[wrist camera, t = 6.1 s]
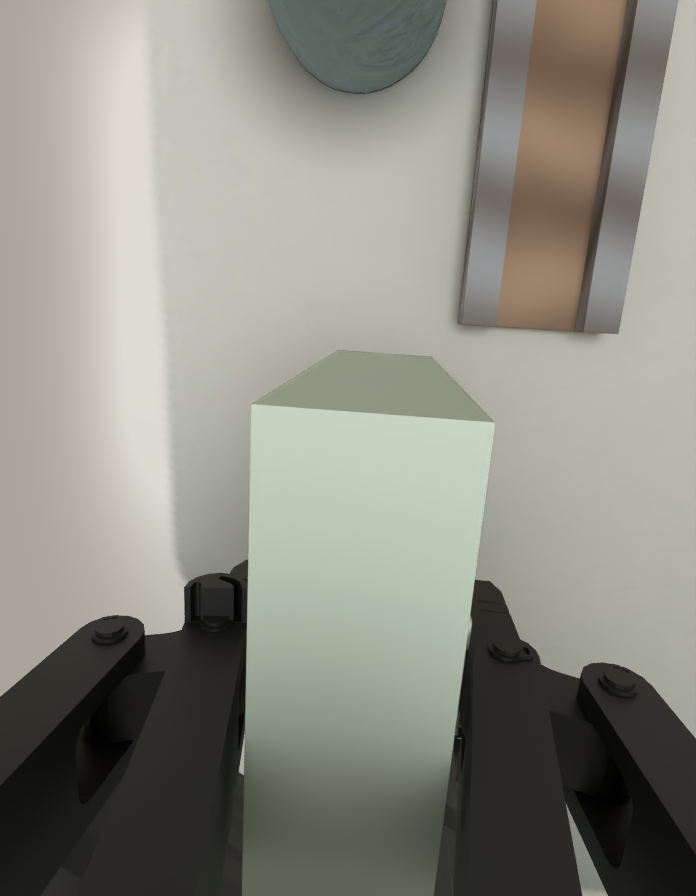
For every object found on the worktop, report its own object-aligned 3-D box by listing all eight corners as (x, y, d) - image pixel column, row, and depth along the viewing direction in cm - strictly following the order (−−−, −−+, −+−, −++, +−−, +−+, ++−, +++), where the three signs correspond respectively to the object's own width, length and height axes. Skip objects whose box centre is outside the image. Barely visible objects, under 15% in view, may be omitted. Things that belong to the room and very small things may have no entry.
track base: (600, 332, 31) (618, 334, 29) (456, 323, 32) (462, 324, 29) (690, -192, 25) (722, -246, 23) (512, -193, 26) (525, -246, 23)
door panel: (399, 682, 20) (407, 1096, 9) (311, 673, 20) (222, 1067, 10) (431, 356, 17) (495, 422, 7) (328, 349, 17) (227, 402, 7)
